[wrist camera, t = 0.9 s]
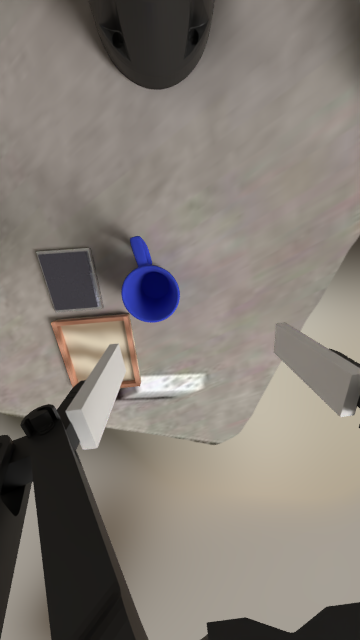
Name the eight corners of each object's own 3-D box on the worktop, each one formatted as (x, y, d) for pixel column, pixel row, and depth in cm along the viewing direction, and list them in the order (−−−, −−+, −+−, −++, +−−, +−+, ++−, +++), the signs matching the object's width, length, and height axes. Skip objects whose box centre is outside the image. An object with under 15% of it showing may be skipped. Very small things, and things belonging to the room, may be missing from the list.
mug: (165, 235, 32) (164, 227, 22) (181, 300, 36) (185, 315, 27) (121, 247, 32) (101, 243, 23) (141, 309, 36) (132, 328, 27)
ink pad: (39, 251, 32) (33, 251, 30) (90, 248, 32) (87, 247, 31) (57, 311, 35) (53, 313, 34) (103, 307, 36) (101, 309, 34)
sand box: (56, 319, 36) (50, 322, 34) (129, 313, 36) (127, 316, 35) (78, 386, 42) (74, 392, 40) (141, 380, 42) (139, 386, 40)
